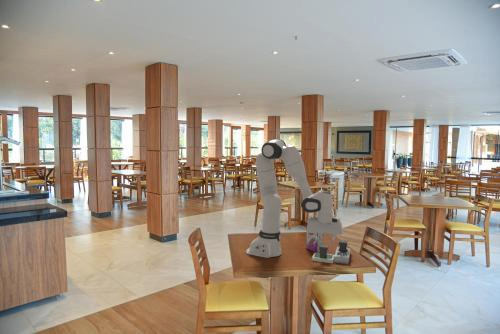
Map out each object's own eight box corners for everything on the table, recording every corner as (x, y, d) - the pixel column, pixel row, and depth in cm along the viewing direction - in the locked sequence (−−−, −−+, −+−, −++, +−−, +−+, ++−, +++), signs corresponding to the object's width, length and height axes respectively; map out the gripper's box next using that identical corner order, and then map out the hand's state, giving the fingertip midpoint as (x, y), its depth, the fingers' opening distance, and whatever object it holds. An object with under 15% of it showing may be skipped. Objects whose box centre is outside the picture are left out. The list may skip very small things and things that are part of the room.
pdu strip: (334, 263, 199) (334, 255, 199) (337, 253, 218) (337, 245, 218) (348, 265, 196) (348, 257, 196) (350, 254, 216) (350, 247, 215)
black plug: (318, 260, 203) (319, 246, 202) (319, 257, 207) (320, 244, 207) (327, 261, 201) (327, 247, 201) (327, 258, 206) (328, 245, 205)
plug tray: (312, 261, 201) (312, 257, 201) (314, 256, 211) (314, 252, 211) (332, 264, 198) (333, 260, 197) (334, 258, 207) (334, 254, 207)
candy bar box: (305, 248, 226) (306, 224, 225) (311, 247, 229) (311, 223, 228) (317, 253, 217) (317, 228, 216) (322, 252, 219) (323, 227, 218)
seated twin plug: (338, 255, 210) (338, 242, 209) (339, 252, 214) (339, 240, 214) (346, 255, 208) (347, 243, 208) (347, 253, 213) (347, 240, 212)
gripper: (306, 218, 203) (306, 241, 204) (342, 220, 196) (342, 243, 197) (308, 216, 209) (308, 238, 210) (342, 217, 202) (342, 240, 203)
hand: (325, 241), depth 203 cm, fingers open, 8 cm apart
